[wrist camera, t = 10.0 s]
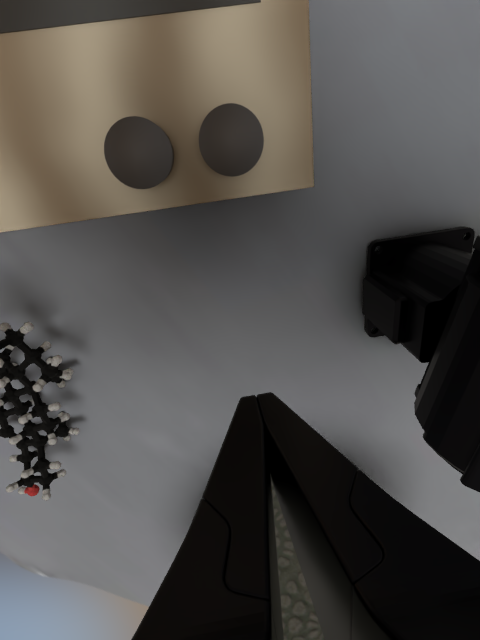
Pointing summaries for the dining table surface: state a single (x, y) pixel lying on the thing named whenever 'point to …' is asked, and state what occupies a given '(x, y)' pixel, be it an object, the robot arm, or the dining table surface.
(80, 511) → the dining table surface
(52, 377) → the molecular model
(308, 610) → the planter
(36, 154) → the console panel
